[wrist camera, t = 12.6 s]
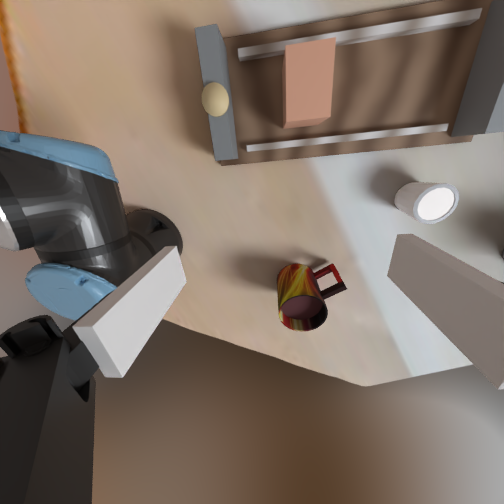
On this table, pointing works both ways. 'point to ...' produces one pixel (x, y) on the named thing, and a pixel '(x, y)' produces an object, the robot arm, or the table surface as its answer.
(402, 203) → the white cup
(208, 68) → the knobbed grey end panels
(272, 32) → the rail track
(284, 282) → the mug
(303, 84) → the salmon pink box
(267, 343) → the table surface
